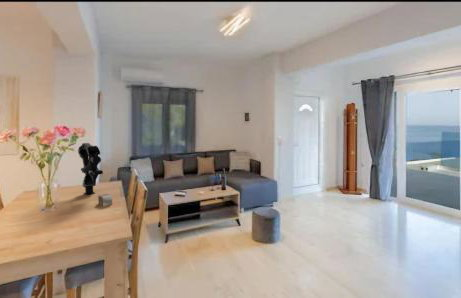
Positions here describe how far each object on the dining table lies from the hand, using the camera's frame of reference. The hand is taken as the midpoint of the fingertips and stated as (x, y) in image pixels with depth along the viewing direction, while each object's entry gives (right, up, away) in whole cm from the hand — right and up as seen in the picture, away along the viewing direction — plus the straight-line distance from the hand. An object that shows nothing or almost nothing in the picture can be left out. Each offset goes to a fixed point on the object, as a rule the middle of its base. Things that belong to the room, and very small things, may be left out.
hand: (94, 182), depth 202 cm
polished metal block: (+12, -11, -12) cm, 20 cm away
